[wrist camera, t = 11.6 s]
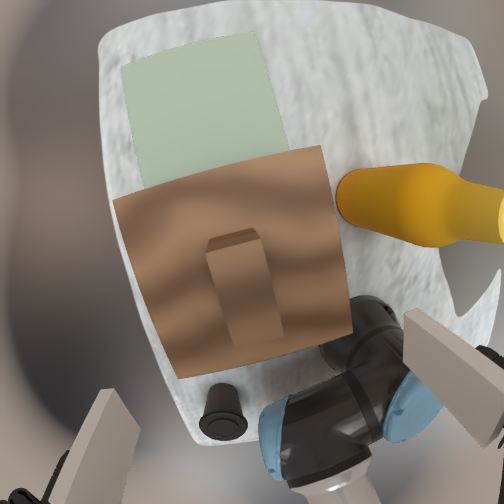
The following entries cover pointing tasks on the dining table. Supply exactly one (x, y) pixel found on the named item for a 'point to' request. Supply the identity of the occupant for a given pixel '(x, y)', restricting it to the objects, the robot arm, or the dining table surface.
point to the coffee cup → (223, 414)
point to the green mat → (201, 108)
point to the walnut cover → (239, 261)
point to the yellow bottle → (422, 205)
